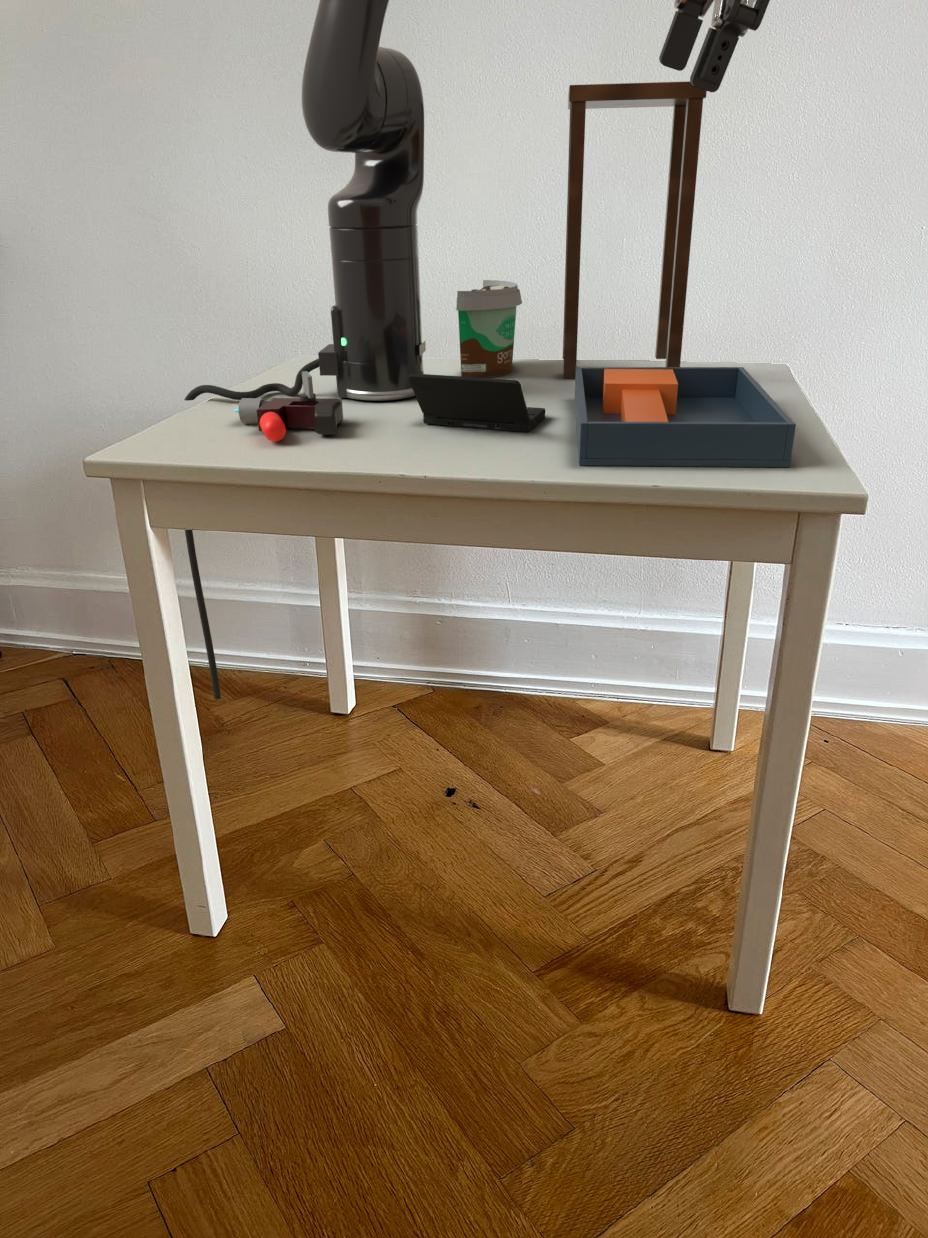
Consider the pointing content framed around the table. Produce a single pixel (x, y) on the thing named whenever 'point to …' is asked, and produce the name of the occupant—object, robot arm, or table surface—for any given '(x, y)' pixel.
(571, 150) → the brown frame
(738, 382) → the tray
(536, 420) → the handheld gaming console
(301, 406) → the toy gun
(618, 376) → the orange t-shaped block
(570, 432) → the table surface
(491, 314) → the food container
